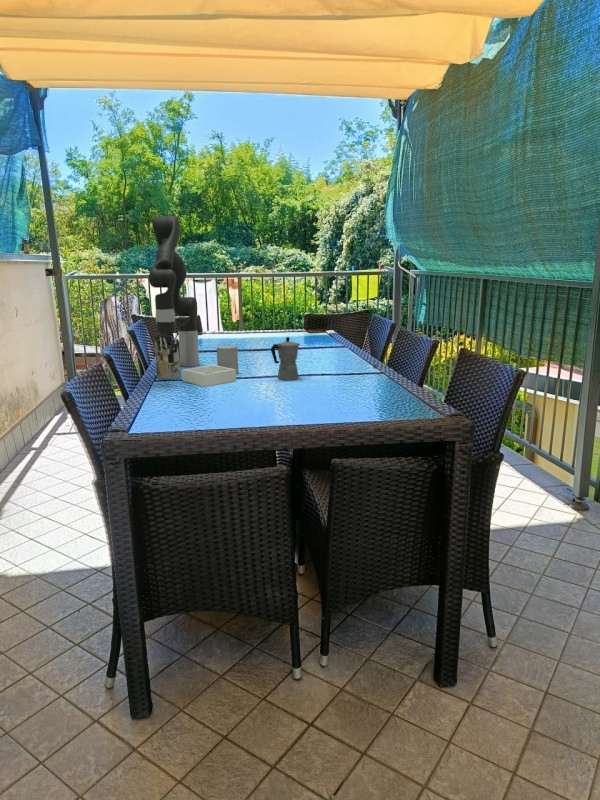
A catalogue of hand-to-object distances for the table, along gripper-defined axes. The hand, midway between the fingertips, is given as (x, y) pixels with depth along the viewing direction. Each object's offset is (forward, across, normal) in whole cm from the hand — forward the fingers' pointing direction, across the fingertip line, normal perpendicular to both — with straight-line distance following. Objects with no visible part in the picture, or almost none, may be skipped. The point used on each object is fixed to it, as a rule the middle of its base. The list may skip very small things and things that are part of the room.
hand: (168, 362), depth 226 cm
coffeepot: (+10, +26, +42) cm, 50 cm away
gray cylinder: (+10, -2, +32) cm, 33 cm away
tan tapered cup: (+1, 0, 0) cm, 1 cm away
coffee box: (+10, -13, +8) cm, 18 cm away
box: (+10, +6, +16) cm, 19 cm away
